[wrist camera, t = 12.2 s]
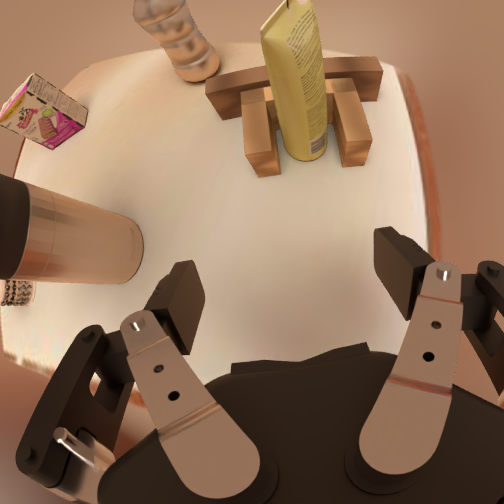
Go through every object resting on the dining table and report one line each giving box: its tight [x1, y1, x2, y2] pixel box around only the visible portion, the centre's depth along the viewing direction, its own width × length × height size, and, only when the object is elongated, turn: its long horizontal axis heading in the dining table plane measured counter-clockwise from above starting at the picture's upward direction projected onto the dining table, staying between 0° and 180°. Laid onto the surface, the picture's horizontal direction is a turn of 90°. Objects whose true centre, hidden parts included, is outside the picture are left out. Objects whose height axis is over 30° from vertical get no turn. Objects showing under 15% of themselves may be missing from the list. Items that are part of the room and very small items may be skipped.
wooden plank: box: [205, 57, 383, 120], centre depth 27 cm, size 20×2×6 cm, turn 96°
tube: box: [260, 0, 327, 161], centre depth 20 cm, size 6×5×20 cm
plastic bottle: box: [133, 0, 220, 82], centre depth 24 cm, size 6×7×20 cm
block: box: [240, 78, 372, 177], centre depth 26 cm, size 12×8×6 cm, turn 96°
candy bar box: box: [0, 73, 88, 150], centre depth 33 cm, size 11×5×16 cm, turn 101°
